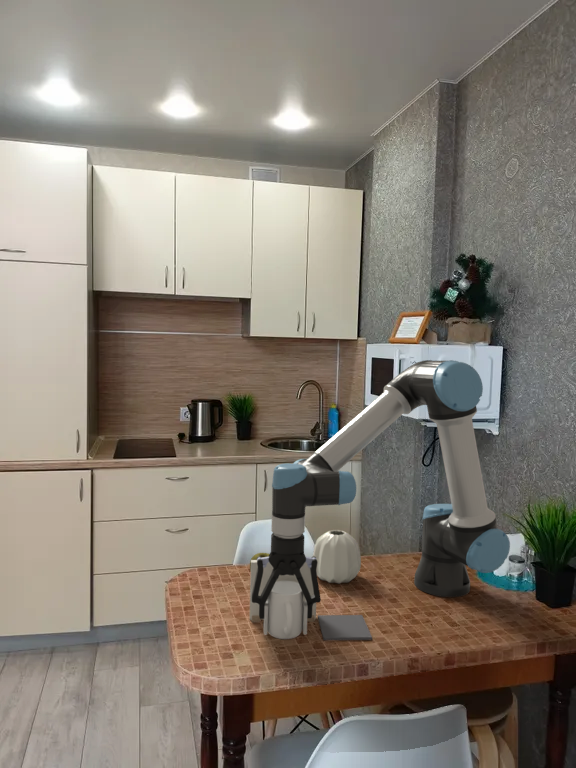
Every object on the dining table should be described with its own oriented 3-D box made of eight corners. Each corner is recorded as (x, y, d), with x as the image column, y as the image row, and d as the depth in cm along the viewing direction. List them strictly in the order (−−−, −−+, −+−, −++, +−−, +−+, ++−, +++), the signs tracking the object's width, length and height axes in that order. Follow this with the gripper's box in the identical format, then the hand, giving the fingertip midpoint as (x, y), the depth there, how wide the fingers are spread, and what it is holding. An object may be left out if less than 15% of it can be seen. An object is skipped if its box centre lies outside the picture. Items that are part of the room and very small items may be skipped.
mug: (307, 647, 124) (309, 601, 123) (270, 649, 123) (271, 602, 122) (299, 622, 136) (300, 579, 135) (264, 623, 135) (265, 580, 134)
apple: (260, 572, 166) (261, 548, 166) (282, 579, 162) (283, 554, 161) (243, 580, 160) (244, 555, 160) (266, 587, 155) (266, 562, 155)
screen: (314, 613, 140) (316, 558, 140) (316, 621, 136) (318, 564, 136) (249, 614, 139) (250, 558, 138) (249, 622, 135) (251, 564, 134)
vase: (302, 579, 162) (304, 533, 161) (327, 565, 173) (329, 522, 172) (345, 592, 154) (347, 543, 153) (368, 576, 165) (370, 531, 165)
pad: (362, 617, 139) (362, 614, 139) (371, 639, 128) (372, 637, 128) (317, 617, 138) (317, 615, 138) (323, 640, 127) (323, 637, 127)
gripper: (331, 528, 133) (328, 623, 134) (241, 527, 131) (238, 624, 132) (336, 538, 125) (333, 639, 126) (240, 538, 124) (238, 640, 125)
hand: (285, 631), depth 129 cm, fingers closed on mug, 8 cm apart
